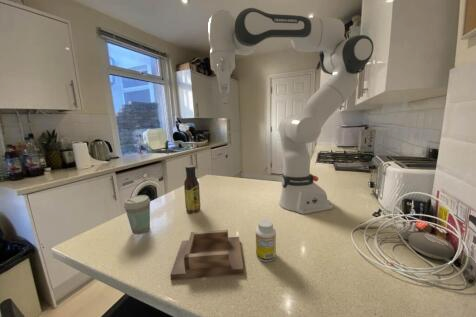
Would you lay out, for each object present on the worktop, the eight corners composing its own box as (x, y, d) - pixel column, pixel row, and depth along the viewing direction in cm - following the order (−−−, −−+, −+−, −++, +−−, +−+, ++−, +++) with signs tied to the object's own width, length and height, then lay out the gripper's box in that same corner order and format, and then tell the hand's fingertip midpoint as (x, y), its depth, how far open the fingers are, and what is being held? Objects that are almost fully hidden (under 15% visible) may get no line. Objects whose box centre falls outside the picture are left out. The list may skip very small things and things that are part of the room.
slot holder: (239, 240, 64) (238, 226, 63) (243, 273, 51) (242, 256, 50) (182, 245, 63) (180, 230, 62) (170, 279, 49) (168, 262, 48)
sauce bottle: (197, 215, 83) (193, 168, 79) (183, 214, 84) (179, 168, 80) (203, 208, 89) (200, 164, 85) (190, 207, 90) (186, 164, 87)
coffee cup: (129, 227, 75) (124, 197, 73) (153, 222, 78) (149, 193, 76) (126, 239, 67) (121, 206, 65) (154, 232, 71) (149, 201, 68)
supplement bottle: (263, 247, 61) (262, 216, 59) (279, 254, 57) (279, 221, 55) (252, 257, 57) (251, 224, 55) (269, 265, 53) (269, 230, 51)
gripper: (232, 54, 62) (234, 100, 65) (230, 70, 82) (232, 105, 85) (212, 55, 62) (215, 101, 64) (215, 70, 82) (217, 105, 85)
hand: (225, 103), depth 75 cm, fingers open, 8 cm apart
